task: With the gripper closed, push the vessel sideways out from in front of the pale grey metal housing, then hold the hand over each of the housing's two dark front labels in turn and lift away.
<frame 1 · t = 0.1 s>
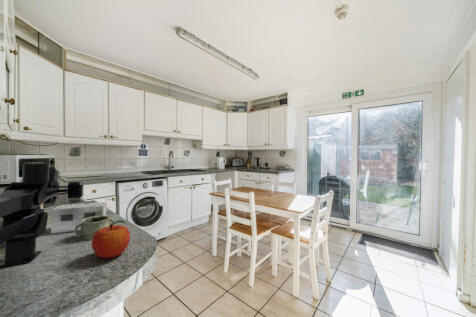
hand: (59, 188, 75), 17 cm above the worktop, tool horizontal, fingers open, 9 cm apart
vessel: (95, 236, 70), on the worktop
housing: (81, 227, 78), on the worktop
sprinkles bottle: (34, 228, 76), on the worktop
fruit: (111, 255, 56), on the worktop
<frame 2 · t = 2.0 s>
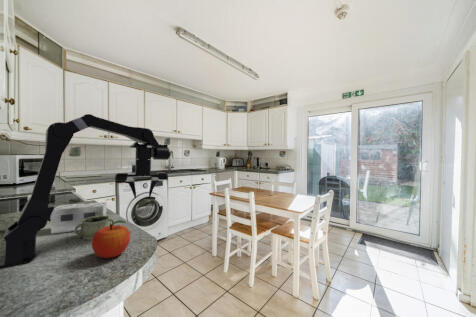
hand: (142, 197, 77), 13 cm above the worktop, tool pointing down, fingers open, 5 cm apart
nothing on the worktop moved.
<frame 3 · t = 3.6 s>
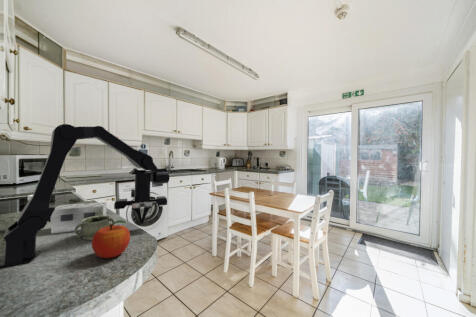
hand: (141, 223, 76), 3 cm above the worktop, tool pointing down, fingers closed
nothing on the worktop moved.
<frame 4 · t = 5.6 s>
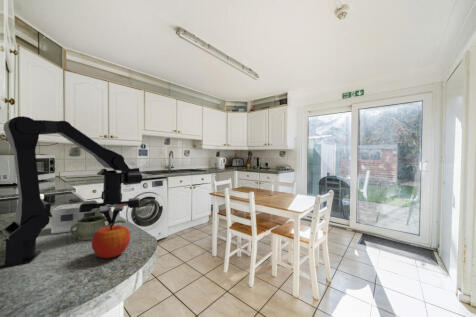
hand: (111, 227, 72), 2 cm above the worktop, tool pointing down, fingers closed
vessel: (91, 236, 69), on the worktop, touching gripper
everything else where it was.
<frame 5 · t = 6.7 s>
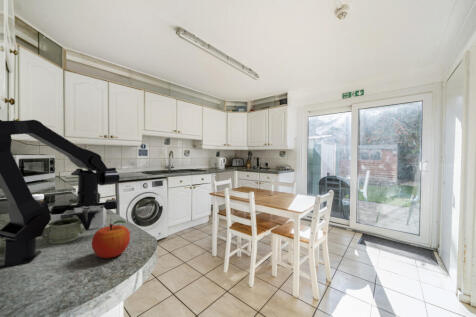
hand: (87, 229, 68), 3 cm above the worktop, tool pointing down, fingers closed
vessel: (64, 239, 66), on the worktop, touching gripper
everything else where it was.
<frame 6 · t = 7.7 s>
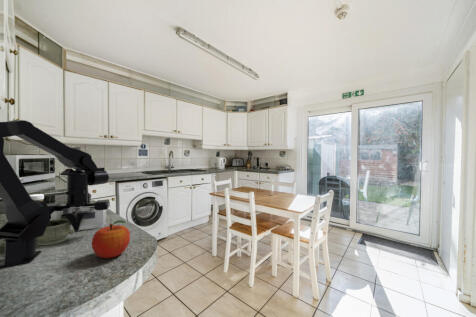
hand: (77, 230, 67), 3 cm above the worktop, tool pointing down, fingers closed
vessel: (53, 241, 65), on the worktop, touching gripper
everything else where it was.
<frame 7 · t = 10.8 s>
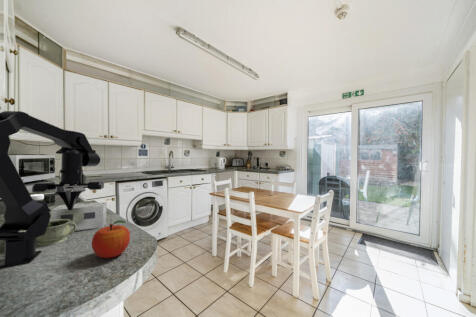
hand: (70, 209, 68), 10 cm above the worktop, tool pointing down, fingers closed
vessel: (53, 241, 65), on the worktop
everything else where it was.
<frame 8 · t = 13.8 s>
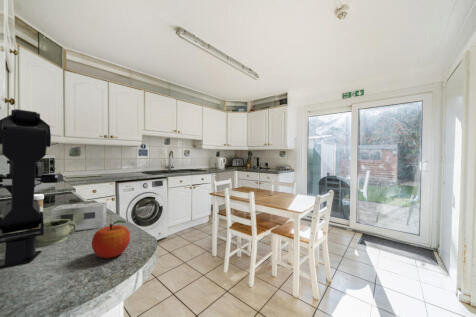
hand: (21, 205, 61), 13 cm above the worktop, tool pointing down, fingers closed
nothing on the worktop moved.
at the end: vessel inside the target area (2.4 cm from its centre), on the worktop; vessel tilted 0°; vessel touching worktop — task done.
